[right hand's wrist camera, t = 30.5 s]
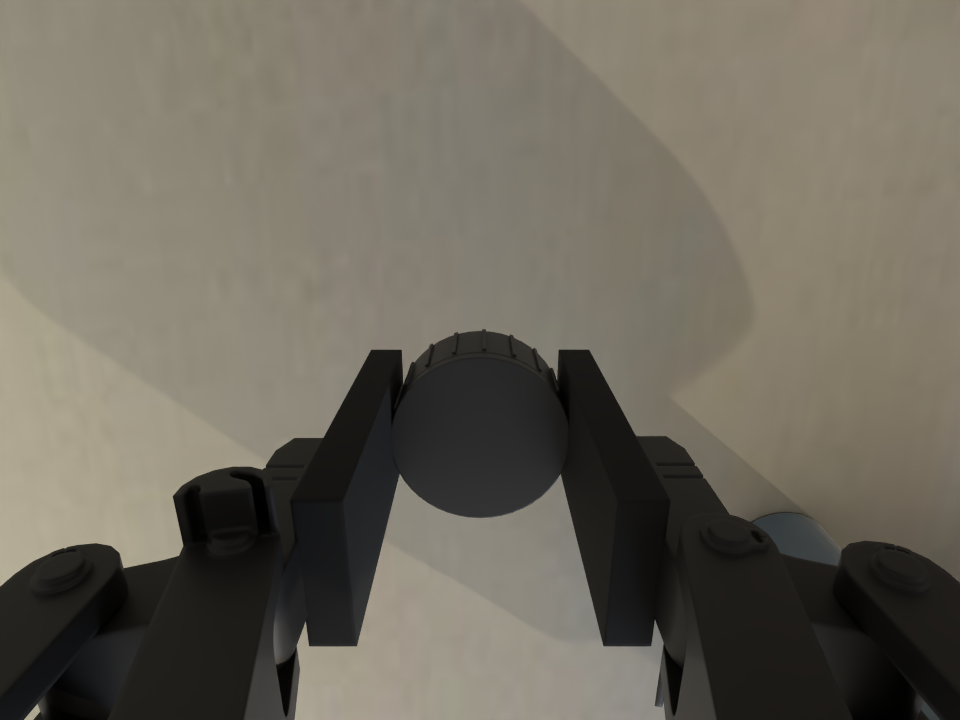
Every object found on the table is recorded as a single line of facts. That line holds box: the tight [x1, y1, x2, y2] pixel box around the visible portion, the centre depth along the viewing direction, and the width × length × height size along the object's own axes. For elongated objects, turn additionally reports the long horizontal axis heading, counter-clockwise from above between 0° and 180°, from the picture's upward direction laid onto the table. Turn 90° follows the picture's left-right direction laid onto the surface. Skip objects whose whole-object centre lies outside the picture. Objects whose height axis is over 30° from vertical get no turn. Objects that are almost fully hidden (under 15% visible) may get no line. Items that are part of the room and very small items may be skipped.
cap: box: [392, 329, 569, 518], centre depth 14 cm, size 4×4×2 cm
